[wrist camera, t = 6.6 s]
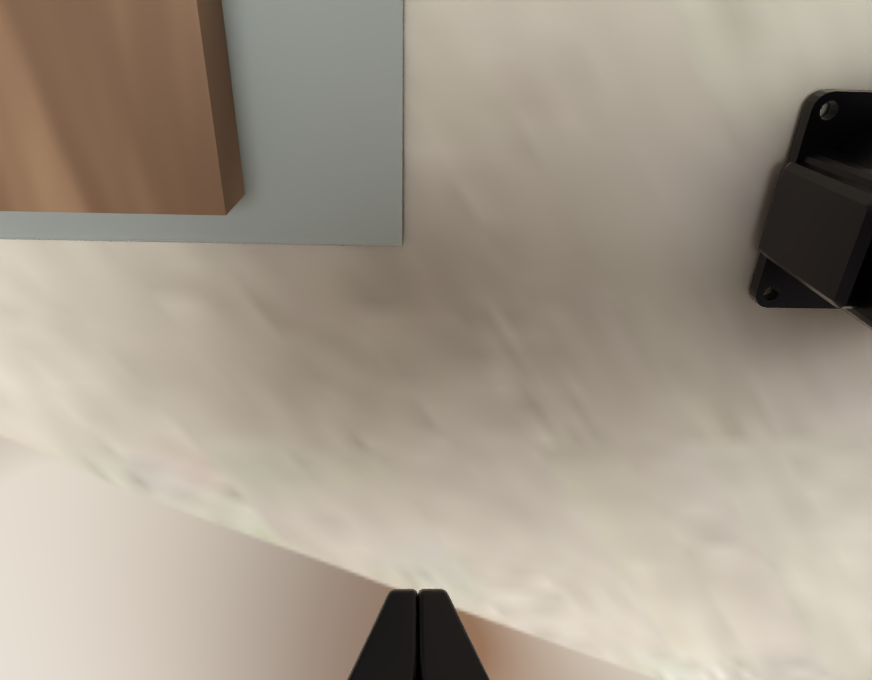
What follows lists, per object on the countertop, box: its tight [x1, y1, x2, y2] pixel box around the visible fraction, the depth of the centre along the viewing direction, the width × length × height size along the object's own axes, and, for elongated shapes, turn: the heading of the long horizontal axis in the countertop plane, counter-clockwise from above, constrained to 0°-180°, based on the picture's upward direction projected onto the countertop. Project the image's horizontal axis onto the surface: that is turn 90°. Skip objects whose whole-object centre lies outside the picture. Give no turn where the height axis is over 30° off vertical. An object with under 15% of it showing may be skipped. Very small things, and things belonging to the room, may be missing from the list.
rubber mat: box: [0, 0, 403, 246], centre depth 16 cm, size 15×9×1 cm, turn 88°
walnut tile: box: [0, 0, 245, 215], centre depth 15 cm, size 2×6×8 cm
